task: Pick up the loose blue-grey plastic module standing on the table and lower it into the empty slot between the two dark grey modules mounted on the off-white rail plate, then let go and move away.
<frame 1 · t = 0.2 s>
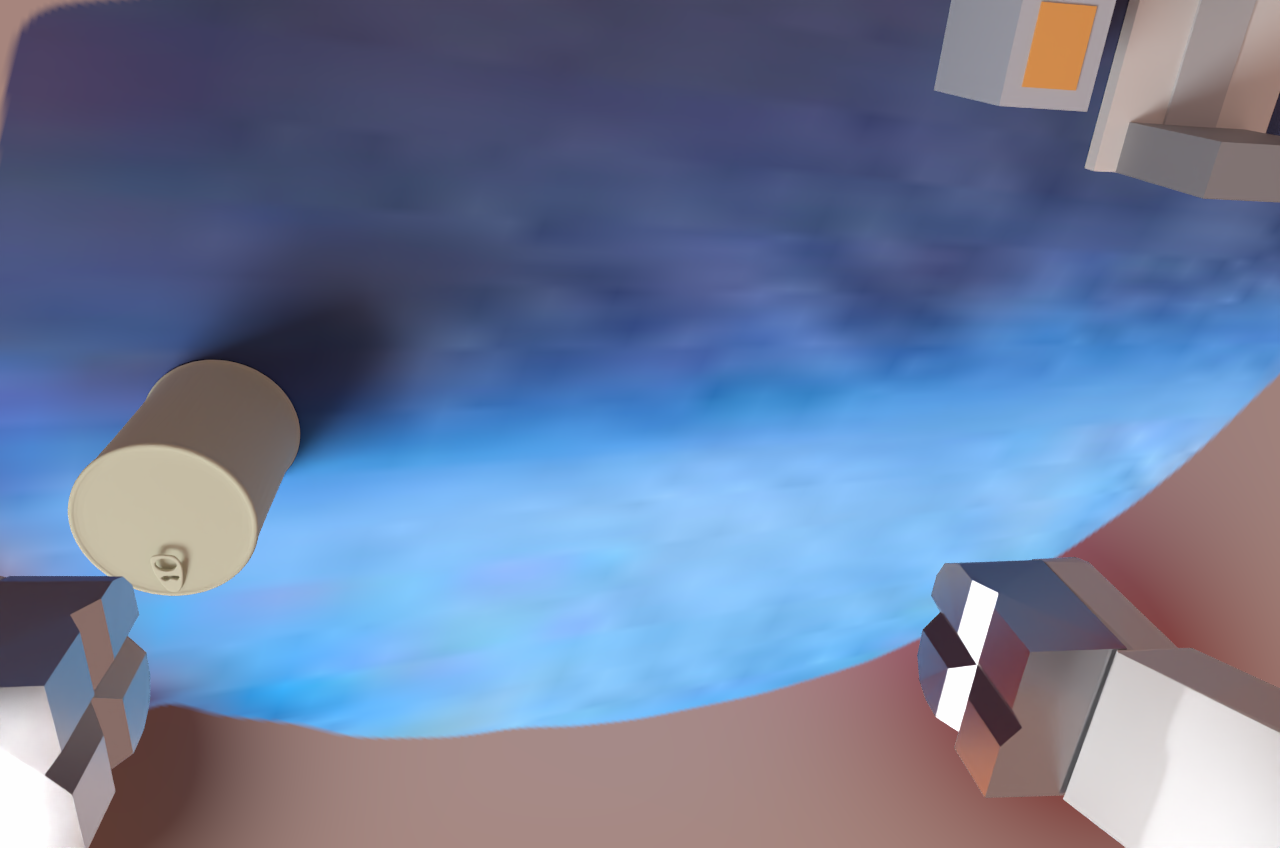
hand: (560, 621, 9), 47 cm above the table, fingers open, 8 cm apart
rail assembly: (1198, 55, 56), on the table
can: (224, 426, 58), on the table
module: (984, 38, 54), on the table
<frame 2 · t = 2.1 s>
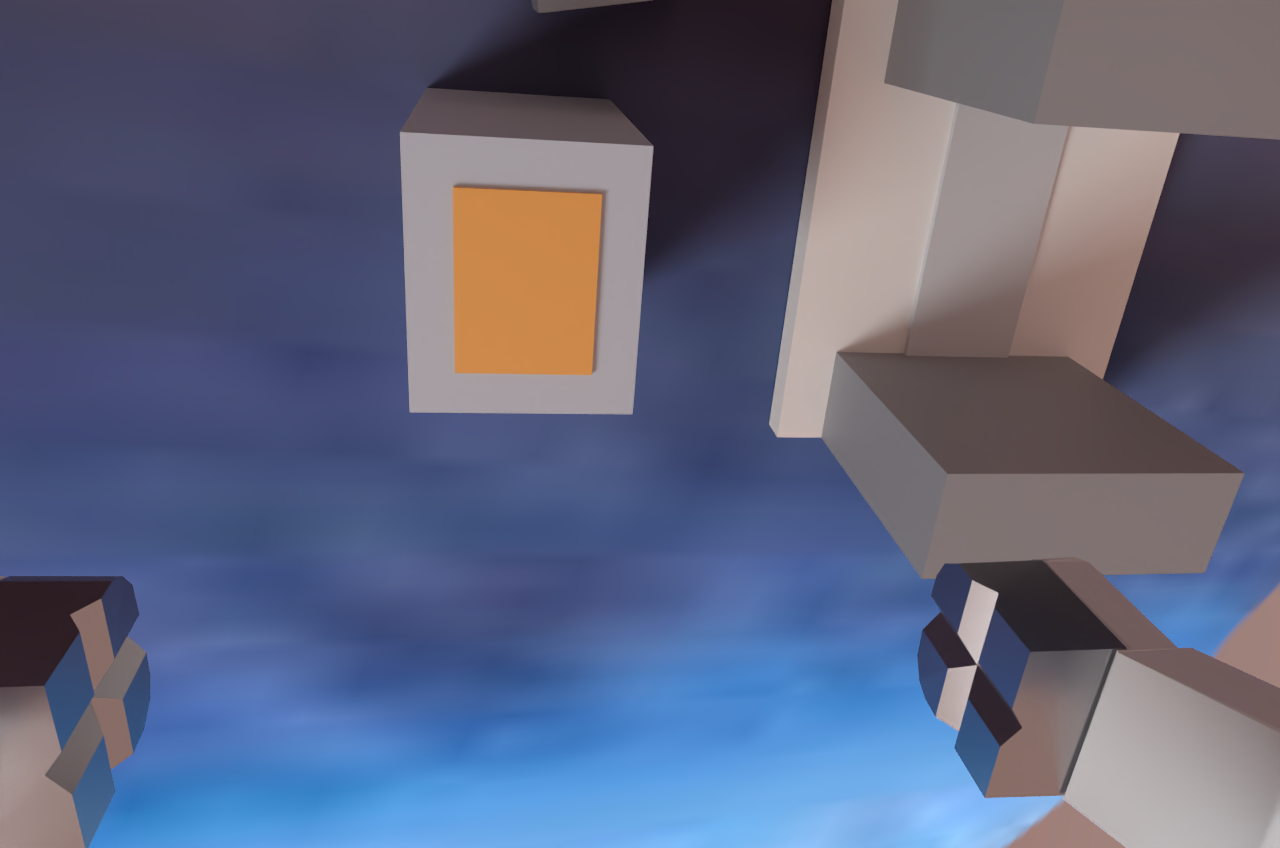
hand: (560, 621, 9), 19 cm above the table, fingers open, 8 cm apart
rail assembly: (968, 223, 29), on the table
module: (517, 202, 27), on the table
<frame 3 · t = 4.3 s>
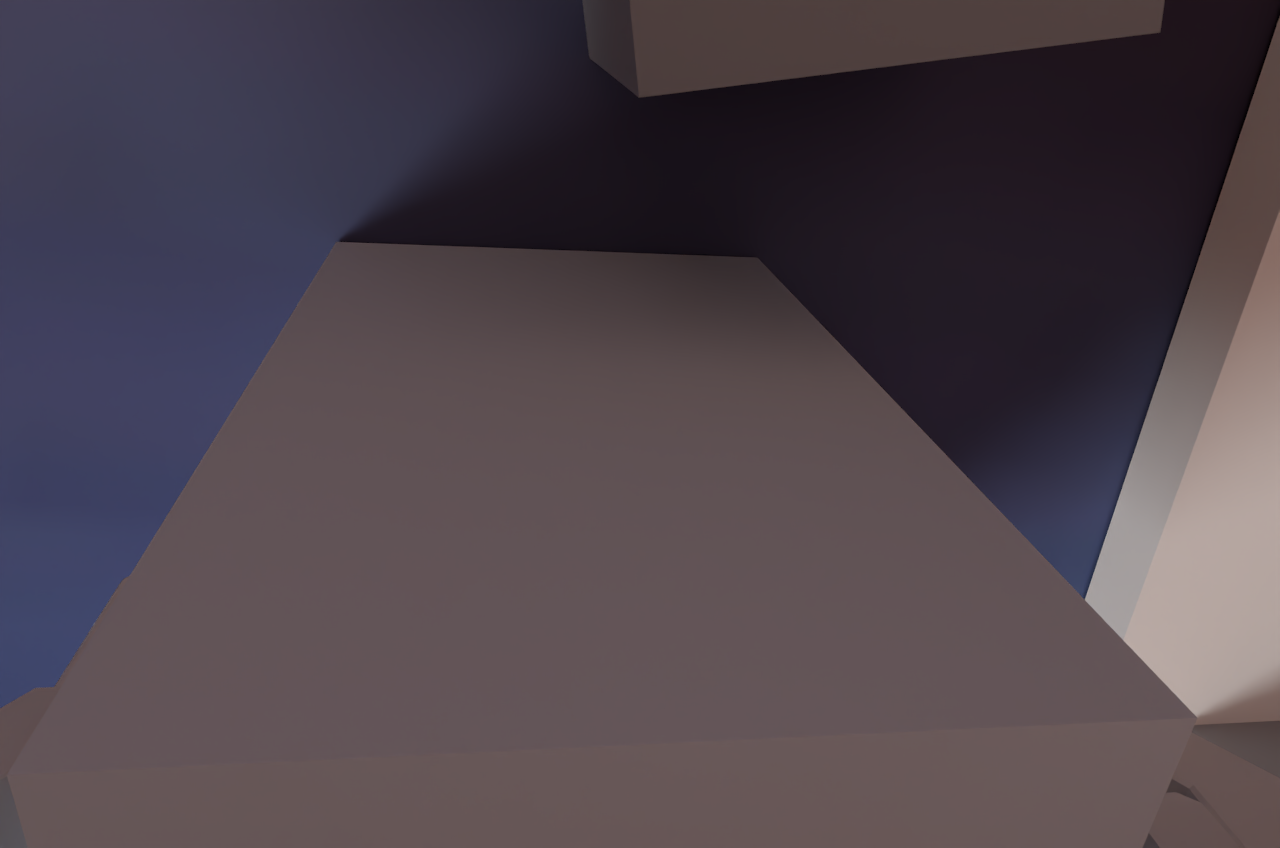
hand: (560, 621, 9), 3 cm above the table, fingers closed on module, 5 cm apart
module: (546, 472, 12), on the table, touching gripper
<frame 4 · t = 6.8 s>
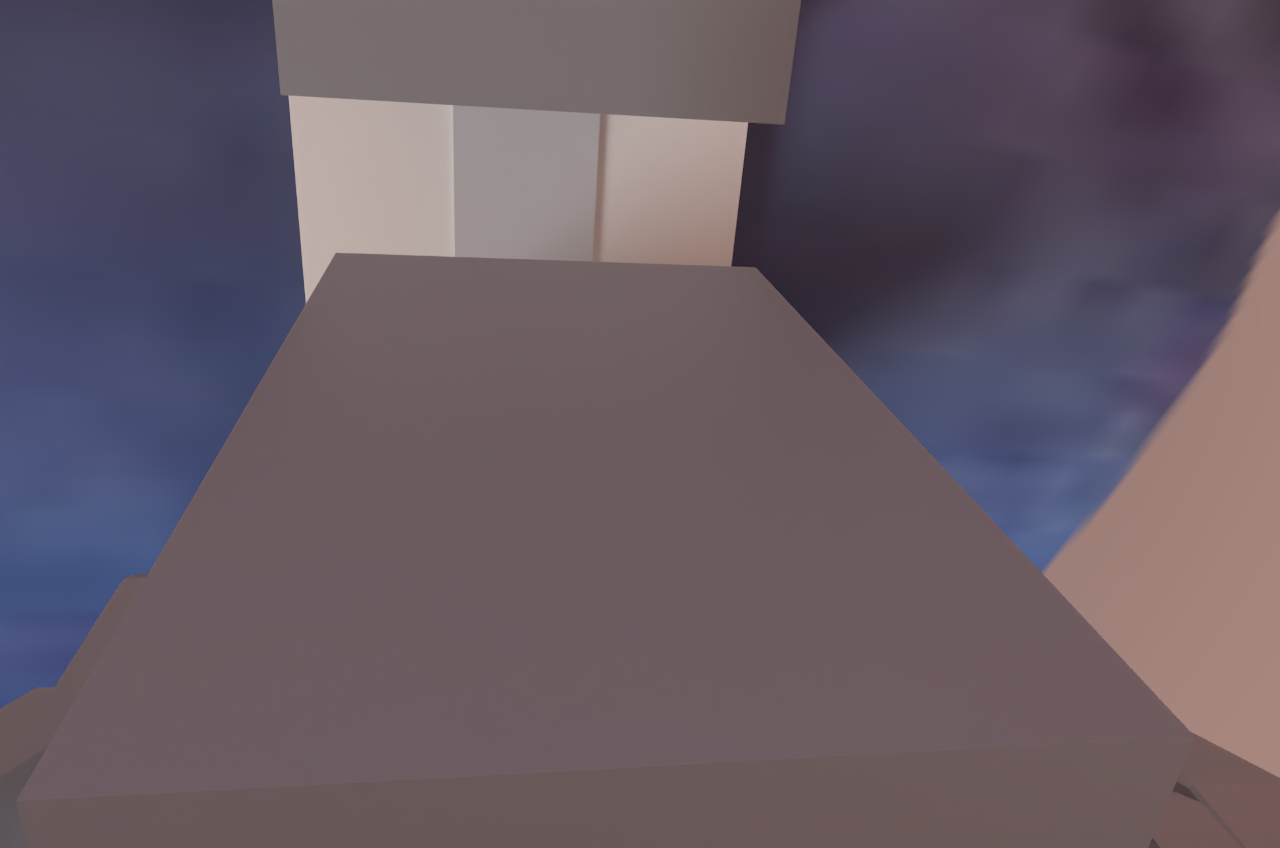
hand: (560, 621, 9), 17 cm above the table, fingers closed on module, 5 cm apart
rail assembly: (523, 226, 24), on the table
module: (545, 480, 12), point 14 cm above the table, touching gripper
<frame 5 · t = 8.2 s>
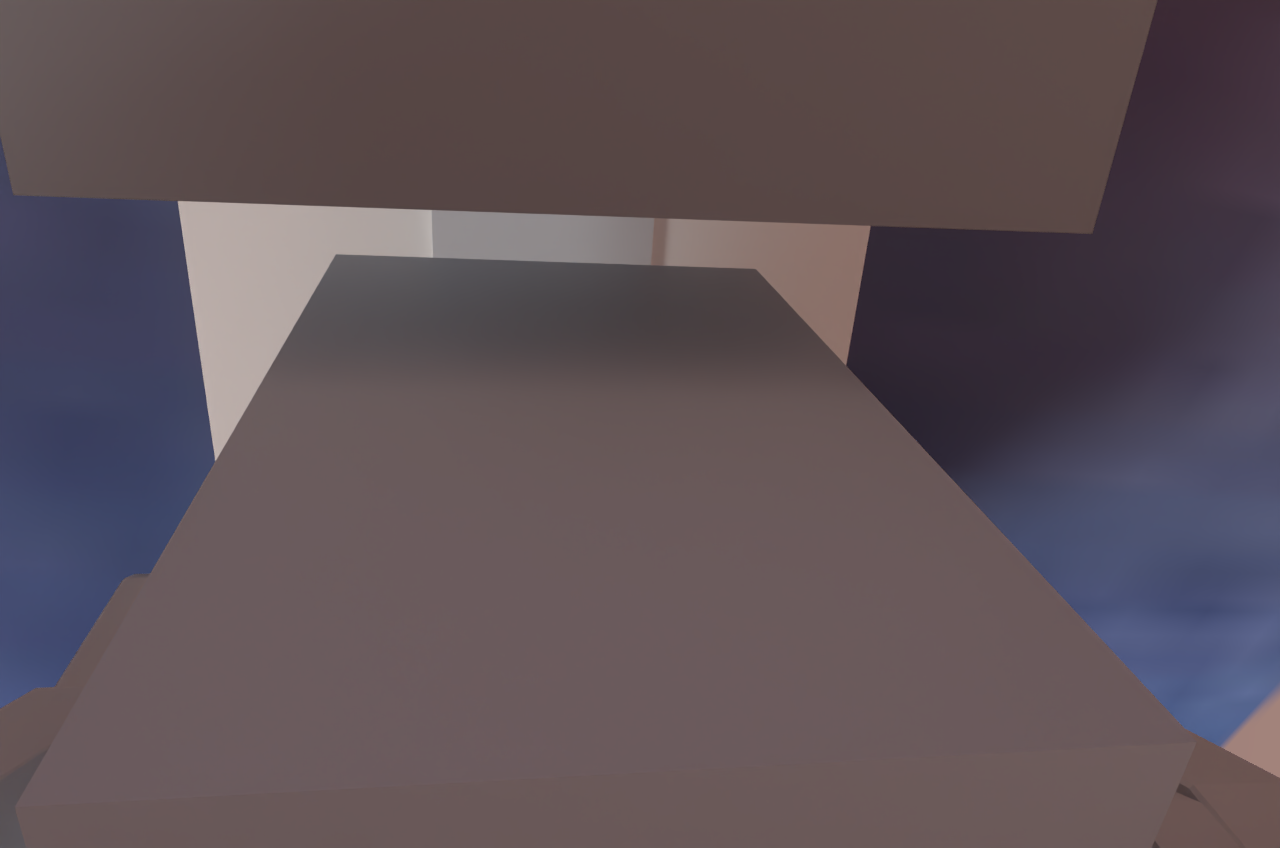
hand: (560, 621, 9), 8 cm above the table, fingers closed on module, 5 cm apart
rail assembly: (538, 322, 17), on the table
module: (545, 482, 12), point 5 cm above the table, touching gripper
when the fingers open (6 cm above the table, at t = 9.5 s): module drops 2 cm, resting on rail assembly.
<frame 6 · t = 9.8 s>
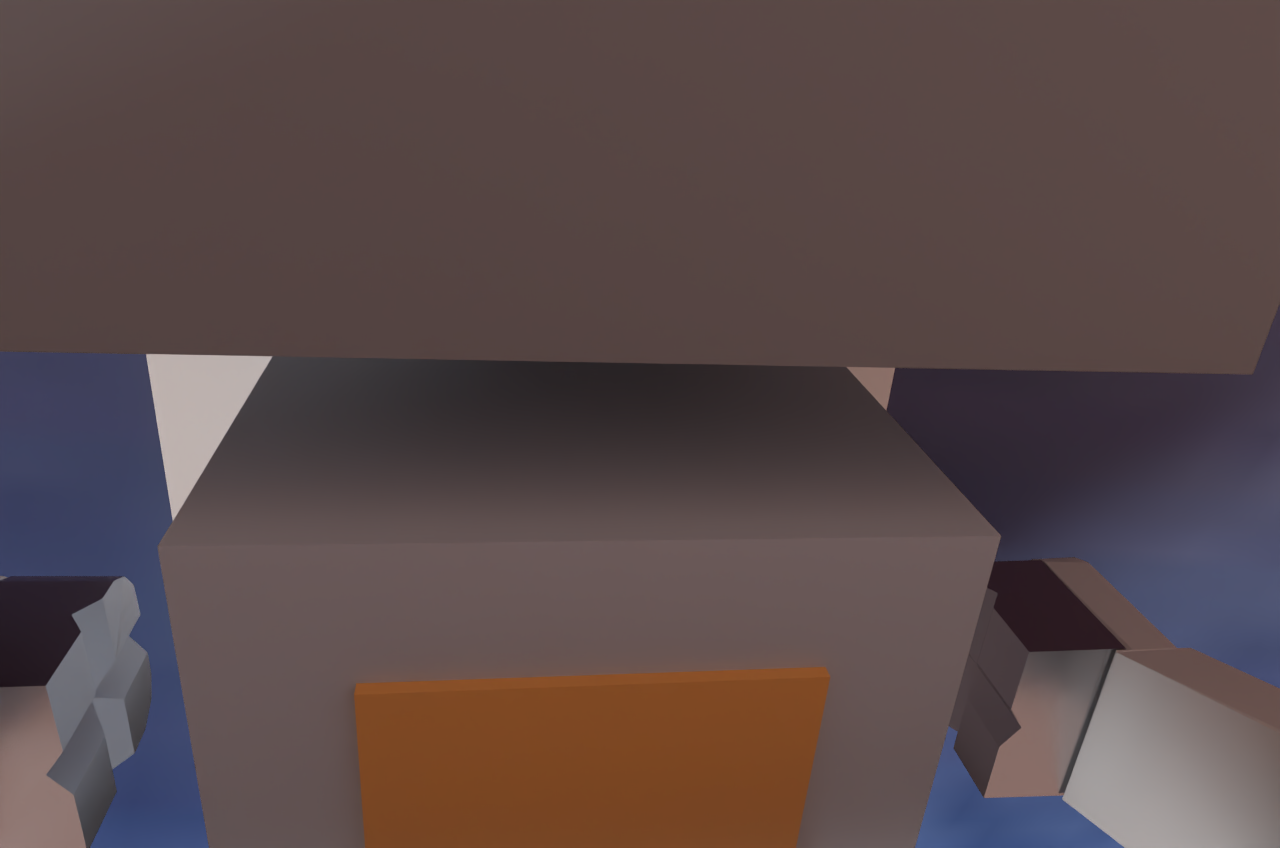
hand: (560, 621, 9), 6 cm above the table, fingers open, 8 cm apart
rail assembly: (539, 390, 15), on the table
module: (539, 424, 14), point 1 cm above the table, touching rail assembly
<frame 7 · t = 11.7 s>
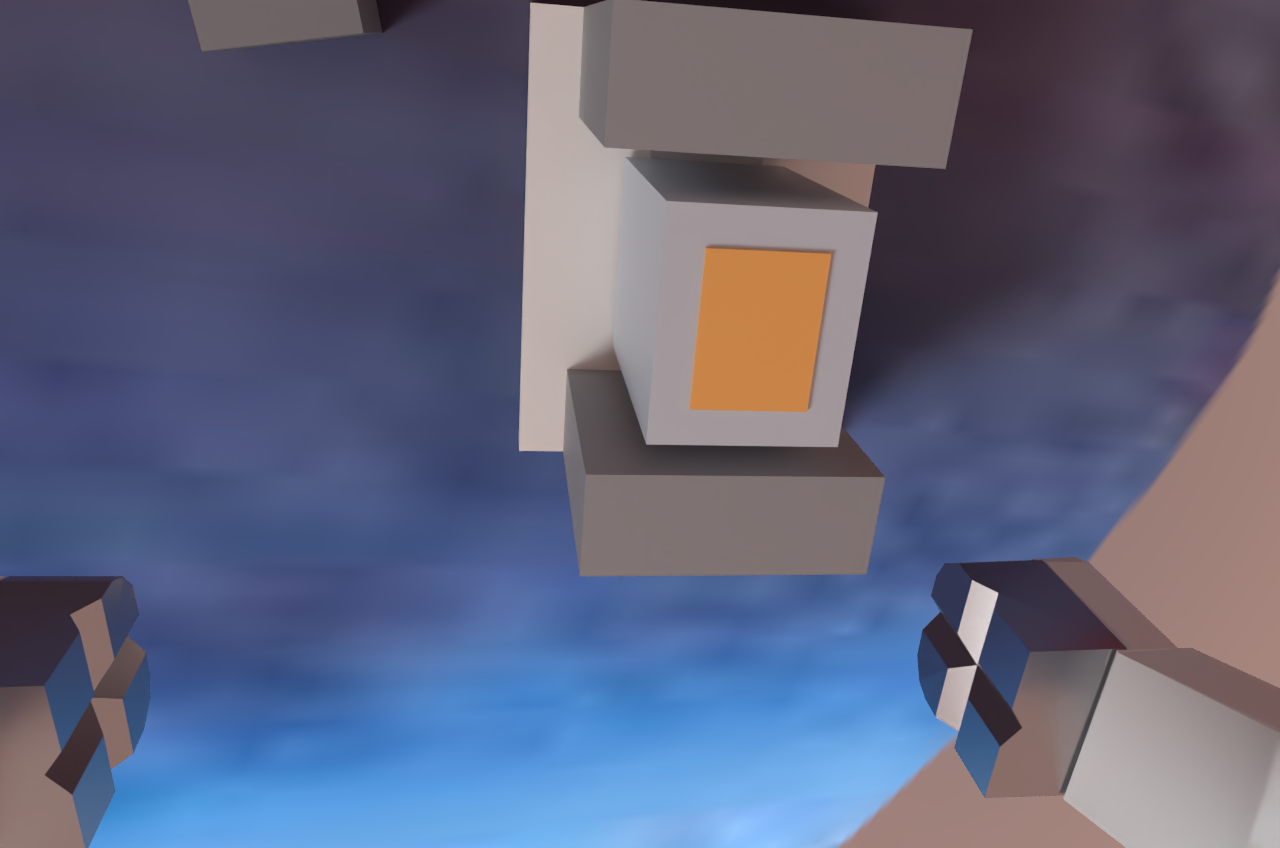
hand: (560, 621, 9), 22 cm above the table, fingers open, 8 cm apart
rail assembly: (690, 248, 31), on the table
module: (695, 258, 30), point 1 cm above the table, touching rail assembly
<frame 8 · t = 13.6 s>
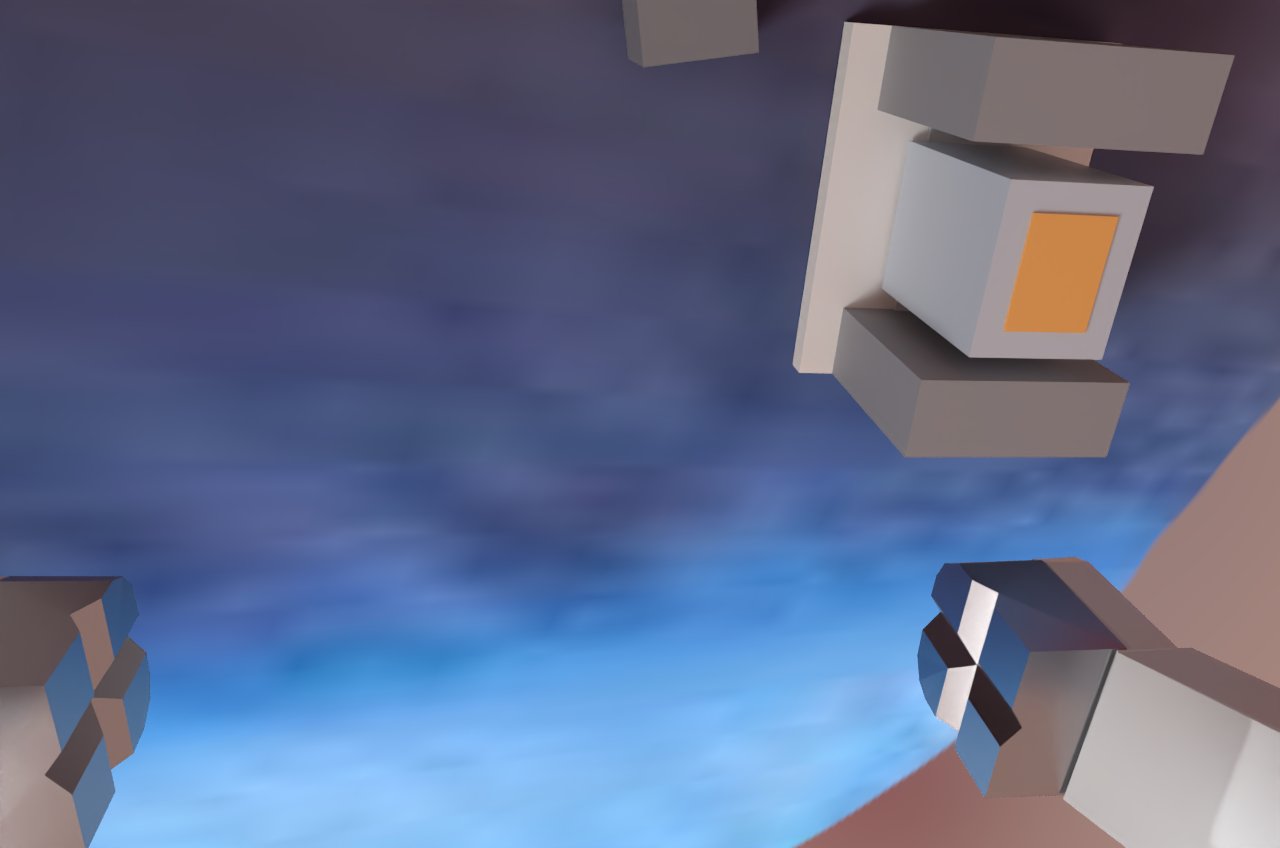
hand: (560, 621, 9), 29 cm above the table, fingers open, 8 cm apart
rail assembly: (941, 211, 39), on the table
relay: (676, 8, 34), on the table
module: (952, 219, 38), point 1 cm above the table, touching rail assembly
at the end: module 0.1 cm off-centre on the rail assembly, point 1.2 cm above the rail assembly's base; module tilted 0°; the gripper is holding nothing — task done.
